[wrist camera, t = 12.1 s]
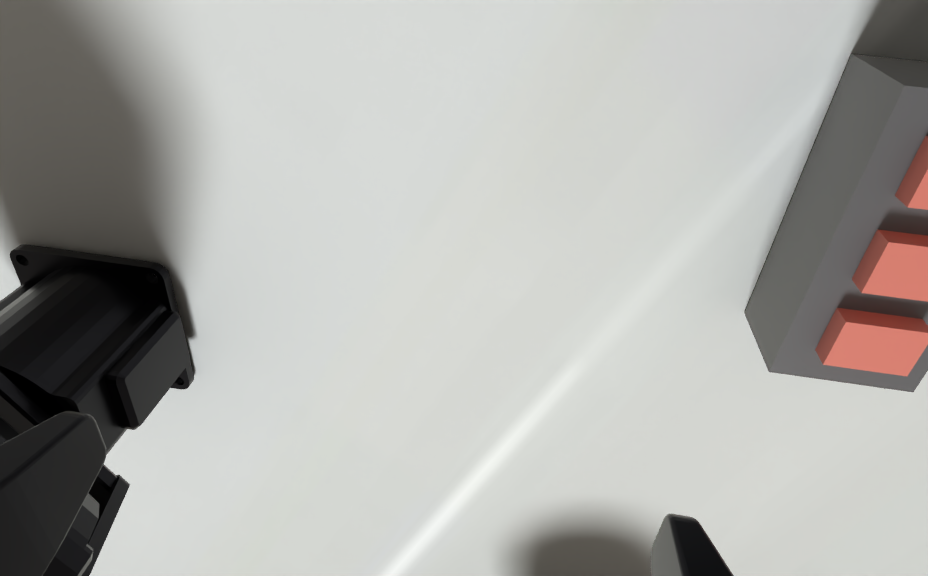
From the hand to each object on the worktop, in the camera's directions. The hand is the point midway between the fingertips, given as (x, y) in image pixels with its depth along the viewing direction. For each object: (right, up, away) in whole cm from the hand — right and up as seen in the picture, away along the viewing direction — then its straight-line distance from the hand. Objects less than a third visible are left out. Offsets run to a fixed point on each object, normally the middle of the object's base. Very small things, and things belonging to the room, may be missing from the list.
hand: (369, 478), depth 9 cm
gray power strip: (+14, +5, +10) cm, 18 cm away
